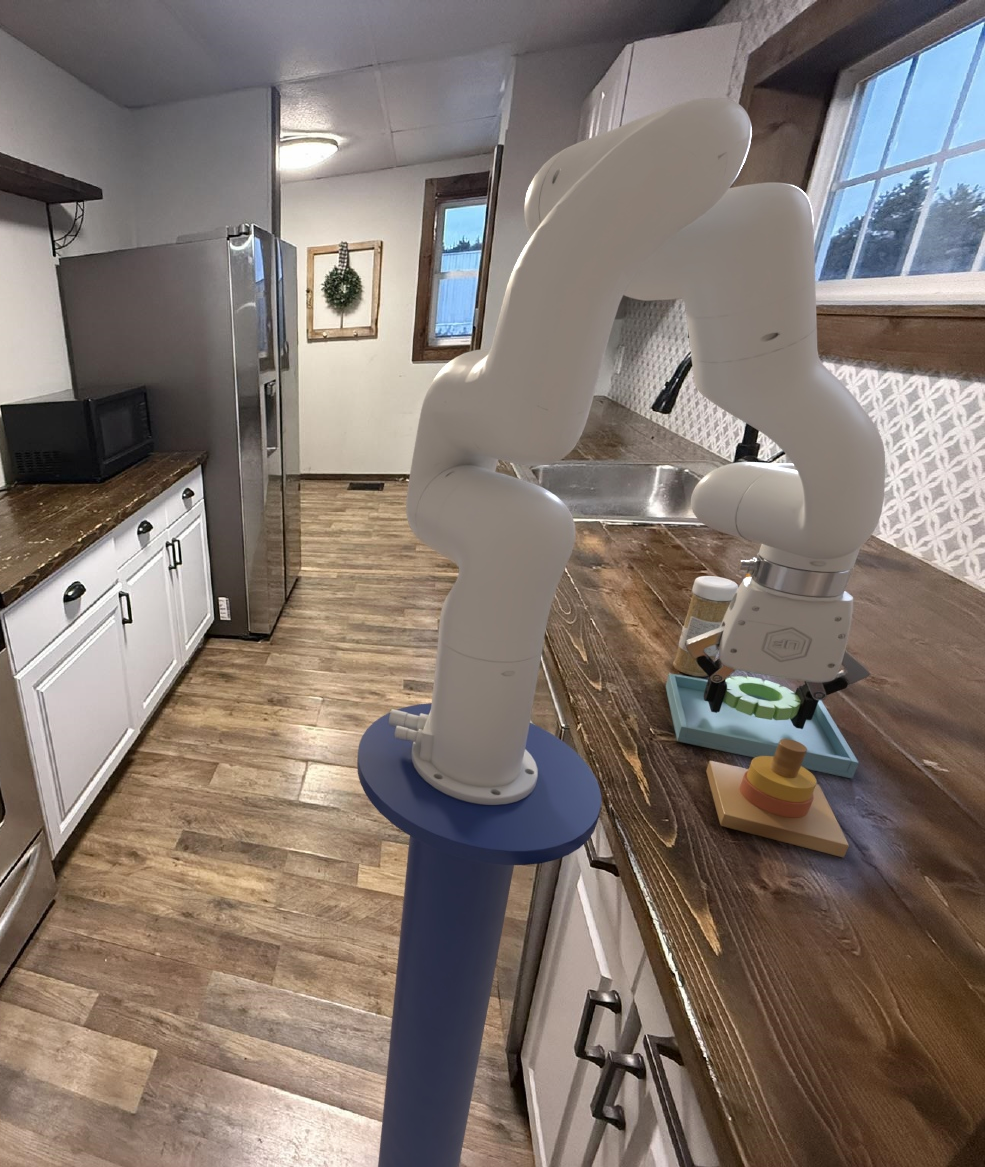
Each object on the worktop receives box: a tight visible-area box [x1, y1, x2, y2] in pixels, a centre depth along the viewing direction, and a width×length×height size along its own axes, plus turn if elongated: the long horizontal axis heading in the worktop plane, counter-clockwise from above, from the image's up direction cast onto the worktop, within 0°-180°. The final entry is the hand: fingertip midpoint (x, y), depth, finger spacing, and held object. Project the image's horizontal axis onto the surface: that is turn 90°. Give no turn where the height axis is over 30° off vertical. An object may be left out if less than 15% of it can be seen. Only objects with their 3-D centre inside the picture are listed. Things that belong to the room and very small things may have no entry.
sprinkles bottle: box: [672, 575, 739, 678], centre depth 85 cm, size 5×5×14 cm
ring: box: [723, 675, 801, 720], centre depth 73 cm, size 7×7×2 cm
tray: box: [665, 673, 860, 779], centre depth 74 cm, size 15×13×2 cm
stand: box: [705, 739, 850, 858], centre depth 61 cm, size 9×9×8 cm
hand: (753, 713), depth 74 cm, fingers closed on ring, 7 cm apart
